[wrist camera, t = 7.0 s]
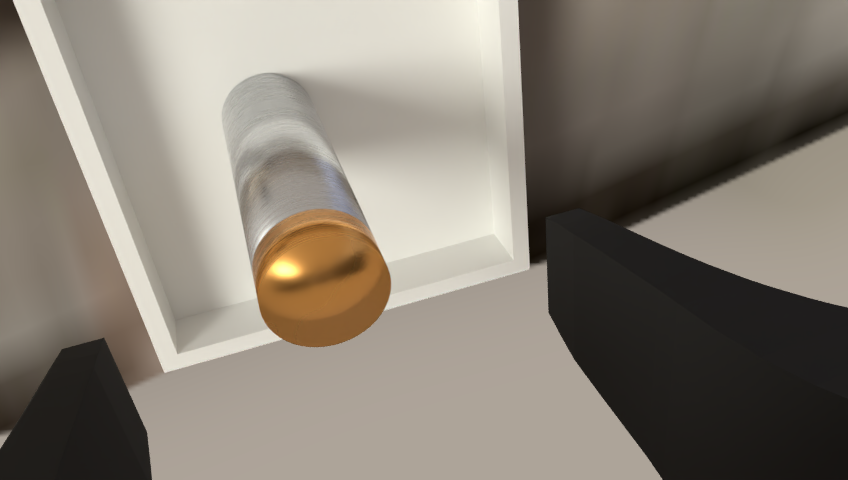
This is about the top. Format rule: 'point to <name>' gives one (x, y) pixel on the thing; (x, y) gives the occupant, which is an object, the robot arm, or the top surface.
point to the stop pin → (300, 217)
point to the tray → (341, 118)
